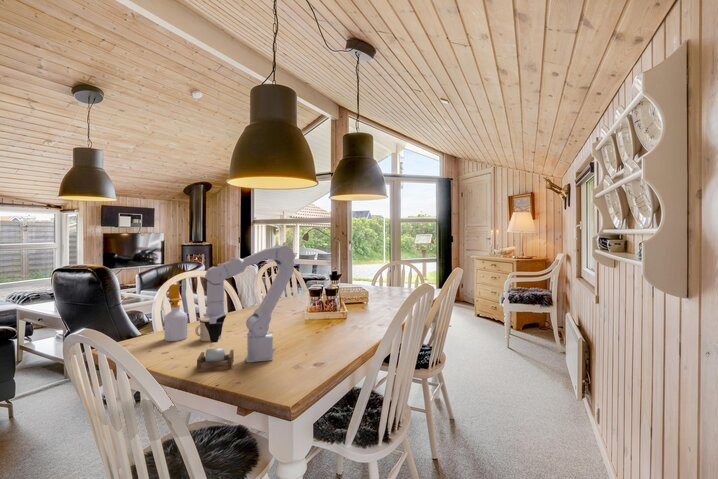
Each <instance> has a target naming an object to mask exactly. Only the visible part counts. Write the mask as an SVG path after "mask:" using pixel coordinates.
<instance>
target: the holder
mask: <svg viewBox="0 0 718 479" xmlns="http://www.w3.org/2000/svg"><path fill="white" fill-rule="evenodd" d="M234 356H235V354H234V349H230V351H229V353H227V354H226V353H225V361H219V362H208V363H206V362H205V351H201V353H200V354H199V356H198V358H197V359H196V372H199V373H200V372H209V371H211V372H212V371H219V370H231V369H232V368H233V364H234Z"/></svg>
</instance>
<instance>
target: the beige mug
mask: <svg viewBox="0 0 718 479" xmlns="http://www.w3.org/2000/svg"><path fill="white" fill-rule="evenodd" d="M205 322H210V321H209V318H208V317H207V316H202V317H200V319H199V325H197V326H196V327H195V329H194V331H195V332H194V333H195V335H196V336H198V337H200V338H199V339H200V341H201V342H211V341H210V336H209V333H208V330H207V328H206V327H205ZM221 338H222V335H221V336H219V339H221ZM219 339H218V340H219Z"/></svg>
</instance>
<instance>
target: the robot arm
mask: <svg viewBox="0 0 718 479" xmlns="http://www.w3.org/2000/svg"><path fill="white" fill-rule="evenodd" d="M295 257H296V255H295V253H294V250H293V248H292V247H291V246H290V245H281V244H276V245H273V246H269V247H267V248H264V249H261V250H260V251H257V252H255V253H253V254H250V255H249V256H246V257H244V258H240V257H234V256H233V257H230V260H228V261H225V262H223V263H218V264H217V266H211V267H209V268H208V269H207V270H206V272H205V275H204V276H205V277H204V278H205V279H206V313H203V316H202V317H205V316H207V317H208V318H209V321H210V322H205V327H206V328H207V330H208V333H209V336H210V341H209V342H210V344H212V343H213V344H214V343H218V342H219V336H221V337H222V333H223V332H222V331H223V326H224V321H225V319H226V318H227V315H226V311H225V286H224V284H225V283H224V281H225V280H226V279H227V280H228V279H230V278H232V277H235V276H238V275H240V274H242V273H244V272H245V270H246V268H247V267H249V266H252V265H255V264H258V263H259V262H260V263H261V262H263V261H265V260H272V261H274V262H275V263H276V266H277V269H278V271H277V272H278V273H277V274H276V275H275V277H274V279H273V281H272V283H271V285H270V287H269V289H268V290H267V292H266V294H265V296H264V298H263V300H262V301H261V303H260V305H259V307H258V308H257V309H255V310H254V311H253V313H252V314H251V315H250V316H248V318H247V319H246V322H245V325H246V329H247V330H248V332H247V334H246V336H247V338H246V339H247V340H246V342H247V344H246V346H247V348H246V350H247V353H246V359H245V363H254V362H256V363H257V362H265V361H266V362H267V361H273V359H274V357H273V355H274V347H273V345H274V344H273V337H274V336H273V333H268V332H269V329H270V323H271V320H272V313H273V311H274V310H275V307H276V305H277V304H278V301H279V300H280V298H281V297H282V294H283V292H284V290H285V289H286V287H287V285H288V283H289V282H290V279H291V277H292V276H293V274H294V269H295V268H294V264H295V261H294V260H295Z"/></svg>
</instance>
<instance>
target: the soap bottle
mask: <svg viewBox="0 0 718 479" xmlns="http://www.w3.org/2000/svg"><path fill="white" fill-rule="evenodd" d="M181 286H182V283H179V284H171V285H169V286H168V293H169V294H168V297H169V298H168V299H169V301H171V302H172V303H173V304H172V305H171V311H170V312H169V311H168V312H167V313H166V315H165V316H164V318H163V319H164V325H163V326H164V330H163V331H164V333H163V334H164V340H165V341H166V342H178V341H179V342H180V341H182V340H185V339H187V338H188V314H187V313H186V312H185V311H183V310H181V305H180V304H179V303H180V301H182V300H183V299H182V298H180V287H181Z"/></svg>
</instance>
